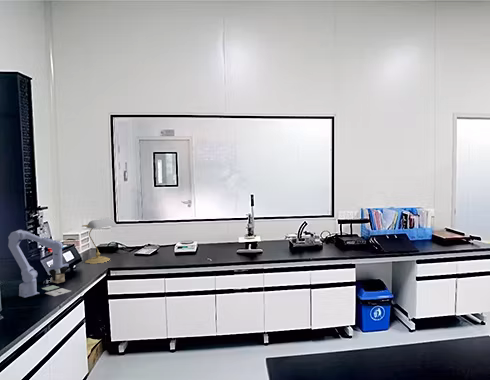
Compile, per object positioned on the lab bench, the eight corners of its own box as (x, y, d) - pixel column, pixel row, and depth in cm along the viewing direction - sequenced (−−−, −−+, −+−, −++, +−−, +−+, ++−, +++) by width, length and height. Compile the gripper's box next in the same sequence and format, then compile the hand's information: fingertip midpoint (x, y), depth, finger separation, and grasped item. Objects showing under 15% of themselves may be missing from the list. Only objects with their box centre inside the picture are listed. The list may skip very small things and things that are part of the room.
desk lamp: (94, 266, 300) (93, 221, 299) (75, 263, 308) (74, 220, 307) (119, 258, 328) (118, 217, 327) (101, 256, 337) (100, 216, 336)
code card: (54, 296, 222) (54, 296, 222) (44, 293, 228) (44, 293, 228) (71, 291, 232) (71, 291, 232) (61, 288, 238) (61, 288, 238)
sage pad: (48, 290, 233) (48, 290, 233) (41, 289, 237) (41, 288, 237) (59, 287, 240) (59, 287, 240) (53, 285, 244) (53, 285, 244)
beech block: (57, 283, 226) (57, 276, 226) (51, 281, 230) (51, 274, 229) (64, 281, 230) (64, 274, 230) (58, 279, 234) (58, 272, 234)
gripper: (50, 262, 221) (50, 283, 222) (71, 258, 234) (71, 277, 234) (44, 261, 225) (44, 281, 225) (65, 256, 237) (65, 276, 238)
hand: (58, 279), depth 230 cm, fingers closed on beech block, 5 cm apart
